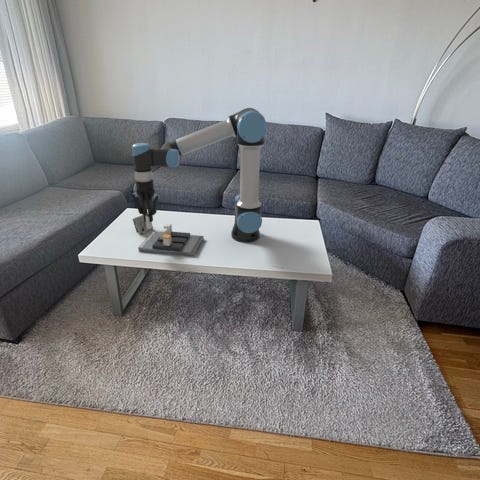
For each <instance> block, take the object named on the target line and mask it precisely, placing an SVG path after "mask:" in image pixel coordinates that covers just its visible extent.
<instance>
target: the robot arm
mask: <svg viewBox="0 0 480 480" xmlns="http://www.w3.org/2000/svg"><path fill="white" fill-rule="evenodd" d="M266 133H267V121H266V119H265V116H264V115H263V114H262V113H261V112H260V111H259V110H257V109H255V108H254V107H253V108H252V107H247V108H243V109H242V110H239V111H237V112H235V113H234V114H231V115H229V116H227V119H225V120H223V121H220V122H217V123H215V124H212V125H210V126H207V127H204V128H202V129H200V130H199V129H198V130H196V131H193V132H192V133H190V134H186V135H184V136H182V137H178V138H177V139H174V140H171V141H166V142H164V143H163V144H162V146H161V148H151V145H150V144H149V143H147V142H137V143H134V144H132V146H131V150H132V161H133V168H134V180H135V186H136V190H135V192H133V193H132V194H131V197H132V198H133V199H134V202H135V205H136V207H137V211H138V213H139V214H140V215H144V221H145V222H146V226H147V229H150V228H151V227H152V226H153V221H154V216H155V214H157V211H158V206H159V205H158V204H159V199H161V198H160V197H161V194H157V193H156V190H155V189H154V186H155V185H154V179H153V177H154V175H153V168H154V167H156V168H157V167H158V168H159V167H161V168H176V167H179V166H180V157H181V156H183V155H187V154H190V153H192V152H195V151H197V150H199V149H202V148H205V147H207V146H210V145H213V144H216V143H218V142H221V141H224V140H226V139H228V138H231V137H233V138H237V139H236V144H237V145H238V147H239V148H240V157H239V158H240V163H239V164H240V165H239V167H240V171H239V172H240V174H239V178H240V179H239V194H237V195H236V196H235V197H234V224H233V226H232V229H231V238H232V239H233V240H234V241H236V242H240V243H250V242H251V243H253V242H255V241H257V240H259V238H260V235H261V233H260V228H261V227H262V225H263V218H262V202H261V201H260V200H259V196H260V195H259V190H260V189H259V188H260V168H261V167H260V166H261V164H260V163H261V162H260V161H261V148H262V147H263V146H264V145H265V137H266ZM153 199H154V200H153ZM152 201H153V203H152ZM147 213H148V214H147Z"/></svg>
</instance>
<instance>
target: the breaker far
mask: <svg viewBox="0 0 480 480" xmlns="http://www.w3.org/2000/svg"><path fill="white" fill-rule="evenodd" d="M172 227H173V226H172V223H165V224H164V225H163V229H167V230H168V234H171V232H173V230H172V229H173V228H172Z"/></svg>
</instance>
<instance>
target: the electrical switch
mask: <svg viewBox="0 0 480 480" xmlns="http://www.w3.org/2000/svg"><path fill="white" fill-rule="evenodd" d="M147 214H148V213H147ZM132 222H133V225H134V228H135V231H136V233H138V235H142V234H144V233H148V232H149V231H152V230H153V229H154V226H153V225H152V227H151V228H150V229H147V226H146V222H145V221H144V215H143V214H140V215H138V216H136V217H134V218H133V219H132Z"/></svg>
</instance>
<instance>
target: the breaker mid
mask: <svg viewBox="0 0 480 480" xmlns="http://www.w3.org/2000/svg"><path fill="white" fill-rule="evenodd" d="M158 232H159V233H160V239H163V236H164V235H165V234H168V230H167V229H164V227H163V228H160V229H159V231H158Z"/></svg>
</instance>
